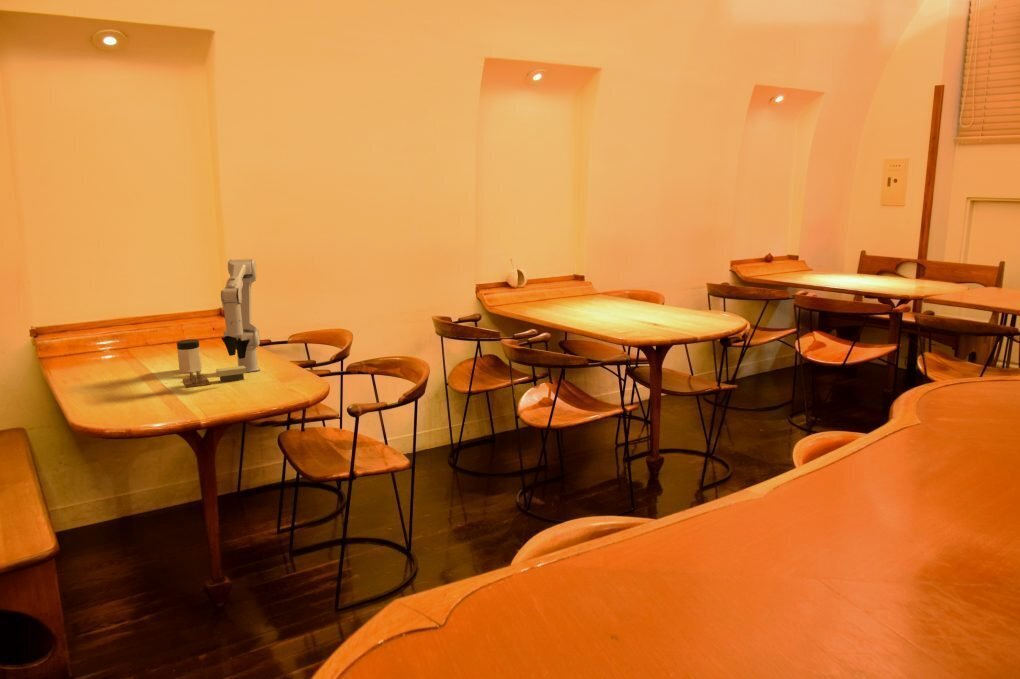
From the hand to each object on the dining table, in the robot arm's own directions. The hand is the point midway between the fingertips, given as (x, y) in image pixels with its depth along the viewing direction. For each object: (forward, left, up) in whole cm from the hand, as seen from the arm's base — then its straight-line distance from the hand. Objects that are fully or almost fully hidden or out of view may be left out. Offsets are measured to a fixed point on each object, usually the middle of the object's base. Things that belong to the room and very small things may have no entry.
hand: (237, 356), depth 272 cm
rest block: (-4, -2, -10) cm, 10 cm away
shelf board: (-4, -2, -7) cm, 8 cm away
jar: (-29, -14, -10) cm, 33 cm away
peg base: (-8, -14, -9) cm, 19 cm away
